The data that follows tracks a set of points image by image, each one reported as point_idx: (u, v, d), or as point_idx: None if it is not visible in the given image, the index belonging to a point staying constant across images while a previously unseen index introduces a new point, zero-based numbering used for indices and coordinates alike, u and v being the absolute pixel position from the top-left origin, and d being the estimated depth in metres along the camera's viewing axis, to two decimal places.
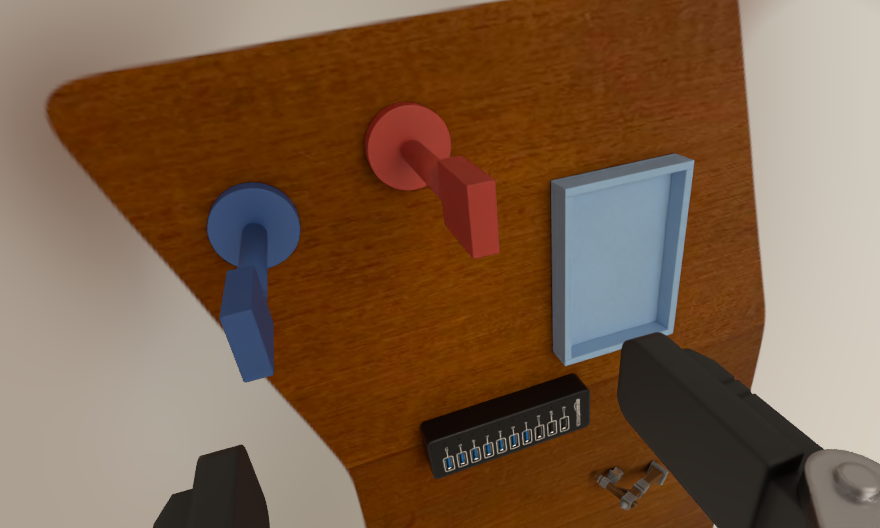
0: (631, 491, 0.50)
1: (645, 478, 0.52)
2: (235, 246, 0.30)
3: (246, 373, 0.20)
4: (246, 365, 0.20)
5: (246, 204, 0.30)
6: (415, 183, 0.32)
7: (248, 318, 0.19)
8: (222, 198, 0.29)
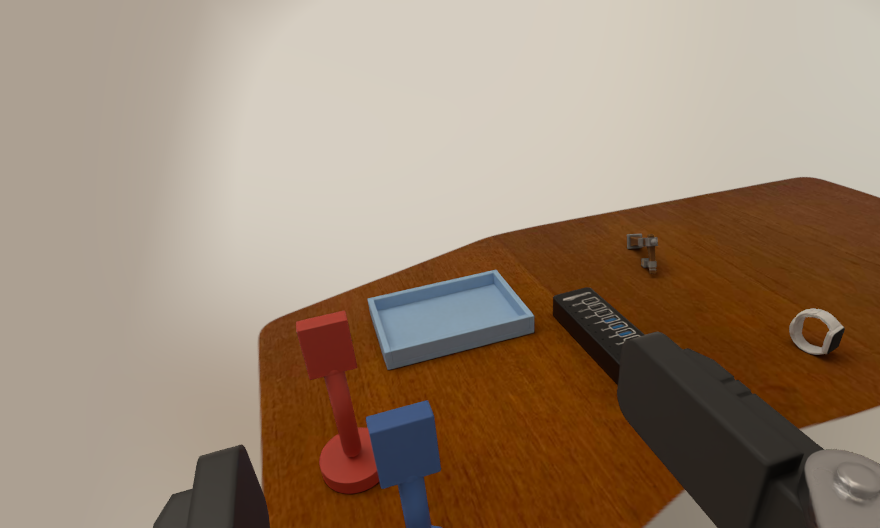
0: (645, 244, 0.60)
1: (637, 243, 0.63)
2: None
3: (423, 415, 0.25)
4: (416, 415, 0.25)
5: None
6: None
7: (372, 417, 0.25)
8: None
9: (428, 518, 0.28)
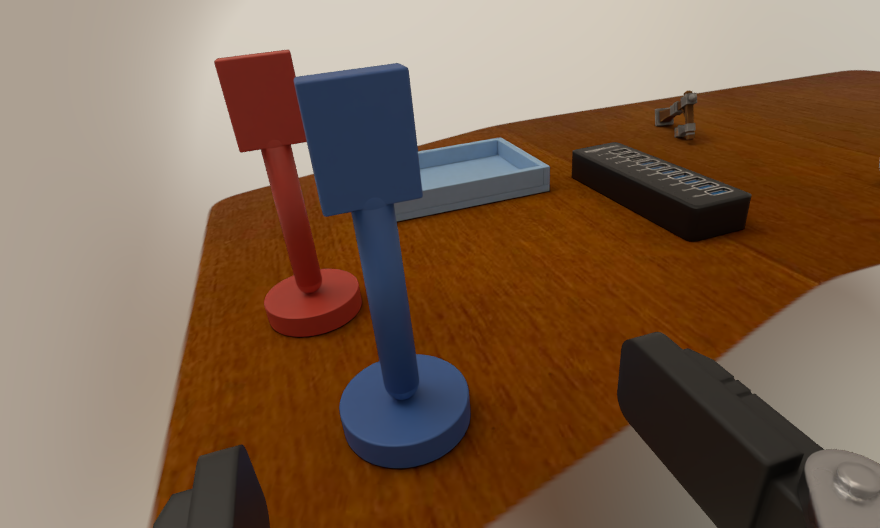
0: (681, 106, 0.49)
1: (669, 114, 0.52)
2: (429, 412, 0.20)
3: (391, 68, 0.15)
4: (377, 69, 0.15)
5: (363, 406, 0.20)
6: (350, 282, 0.29)
7: (305, 76, 0.15)
8: (351, 432, 0.19)
9: (405, 298, 0.18)
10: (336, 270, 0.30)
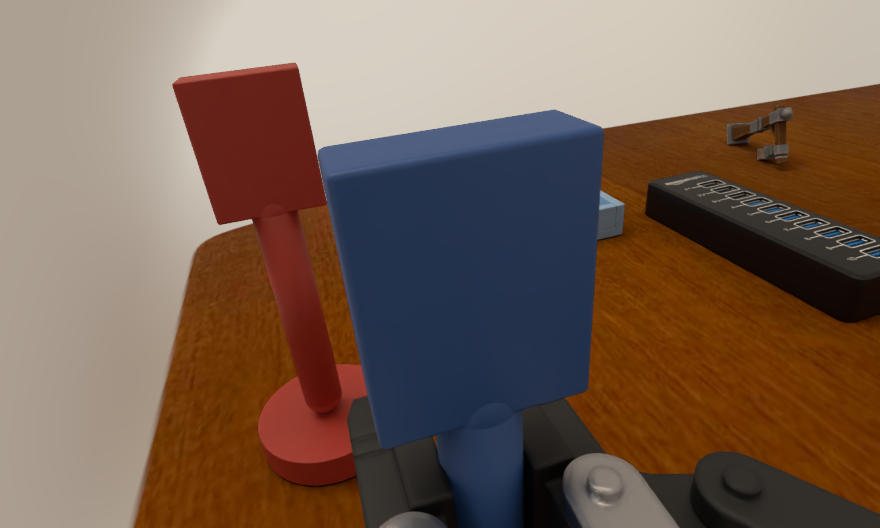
0: (768, 123, 0.41)
1: (748, 131, 0.44)
2: None
3: (561, 128, 0.06)
4: (527, 130, 0.06)
5: None
6: None
7: (345, 146, 0.06)
8: None
9: None
10: (360, 367, 0.22)
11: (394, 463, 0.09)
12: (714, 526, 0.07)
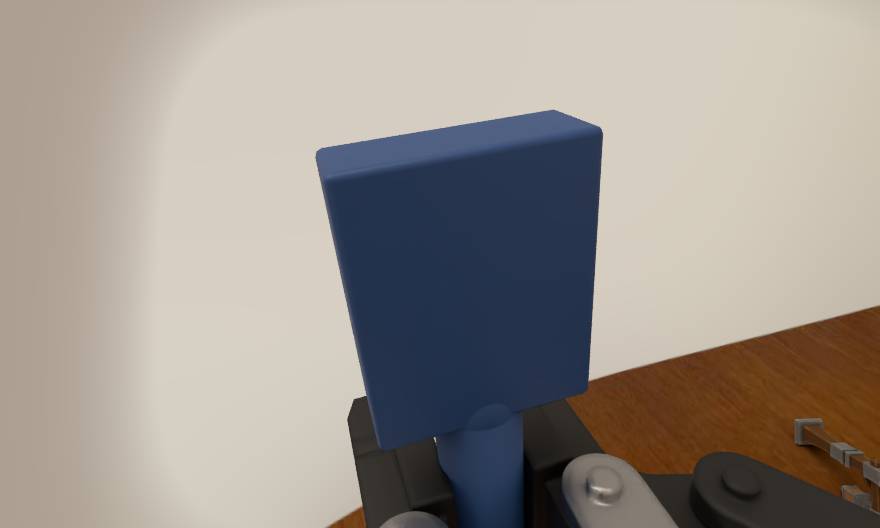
0: (860, 470, 0.32)
1: (826, 449, 0.35)
2: None
3: (560, 128, 0.06)
4: (526, 131, 0.06)
5: None
6: None
7: (344, 147, 0.06)
8: None
9: None
10: None
11: (395, 463, 0.09)
12: (713, 526, 0.07)
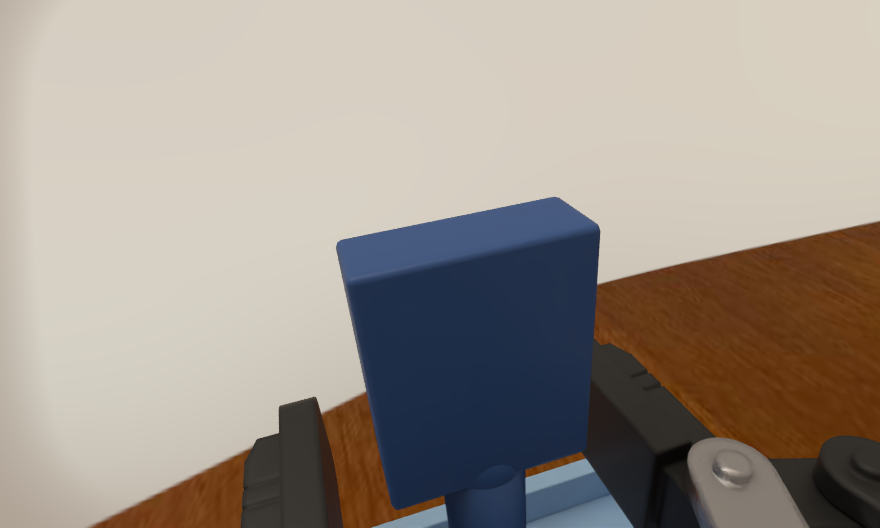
0: None
1: None
2: None
3: (561, 225, 0.06)
4: (529, 227, 0.06)
5: None
6: None
7: (362, 240, 0.07)
8: None
9: None
10: None
11: None
12: (846, 508, 0.07)
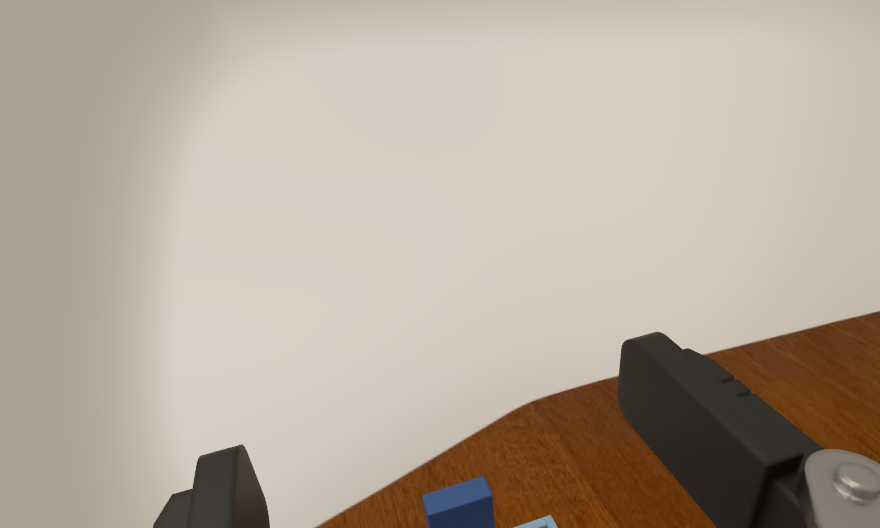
0: None
1: None
2: None
3: (482, 494, 0.24)
4: (473, 494, 0.24)
5: None
6: None
7: (429, 496, 0.24)
8: None
9: None
10: None
11: None
12: None
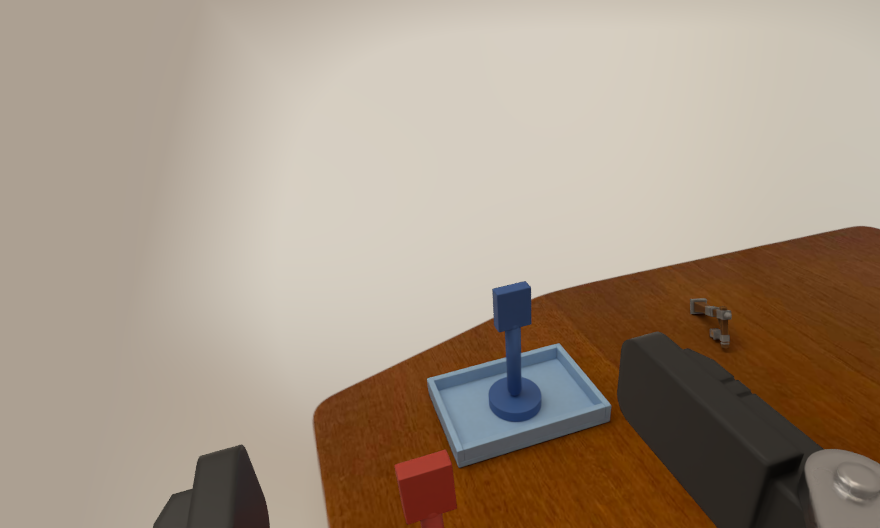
0: (716, 315, 0.57)
1: (704, 311, 0.60)
2: (527, 400, 0.50)
3: (525, 287, 0.45)
4: (520, 287, 0.45)
5: (499, 398, 0.50)
6: None
7: (496, 288, 0.45)
8: (497, 408, 0.49)
9: (520, 357, 0.48)
10: None
11: None
12: None
